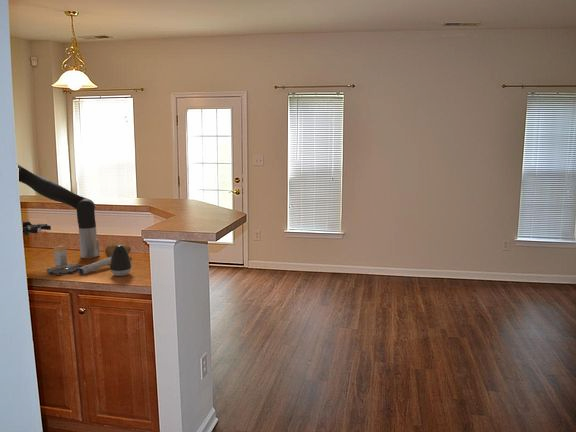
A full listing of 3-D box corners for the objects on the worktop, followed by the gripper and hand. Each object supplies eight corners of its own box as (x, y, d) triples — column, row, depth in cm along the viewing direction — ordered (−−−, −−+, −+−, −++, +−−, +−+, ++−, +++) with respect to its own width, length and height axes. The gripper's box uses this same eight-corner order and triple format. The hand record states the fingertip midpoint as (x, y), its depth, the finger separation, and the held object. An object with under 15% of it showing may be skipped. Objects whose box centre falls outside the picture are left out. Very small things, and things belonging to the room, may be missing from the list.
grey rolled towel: (76, 267, 242) (117, 250, 262) (79, 279, 244) (119, 261, 264) (82, 268, 240) (123, 251, 259) (85, 281, 241) (125, 263, 261)
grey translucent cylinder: (61, 265, 253) (59, 244, 252) (67, 265, 252) (65, 245, 250) (55, 267, 250) (53, 246, 248) (61, 267, 248) (59, 247, 246)
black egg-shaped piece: (111, 278, 235) (109, 248, 233) (109, 273, 245) (108, 244, 242) (133, 276, 239) (131, 246, 237) (130, 271, 249) (129, 242, 246)
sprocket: (72, 264, 261) (72, 261, 260) (88, 270, 250) (88, 267, 250) (40, 271, 248) (40, 268, 248) (55, 277, 237) (55, 274, 237)
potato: (135, 257, 276) (134, 241, 274) (111, 263, 264) (110, 246, 262) (126, 255, 281) (125, 239, 279) (102, 260, 269) (101, 244, 267)
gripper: (7, 223, 249) (31, 225, 244) (30, 218, 262) (53, 219, 257) (9, 237, 251) (33, 239, 245) (32, 232, 264) (55, 233, 258)
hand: (43, 229), depth 251 cm, fingers open, 8 cm apart
